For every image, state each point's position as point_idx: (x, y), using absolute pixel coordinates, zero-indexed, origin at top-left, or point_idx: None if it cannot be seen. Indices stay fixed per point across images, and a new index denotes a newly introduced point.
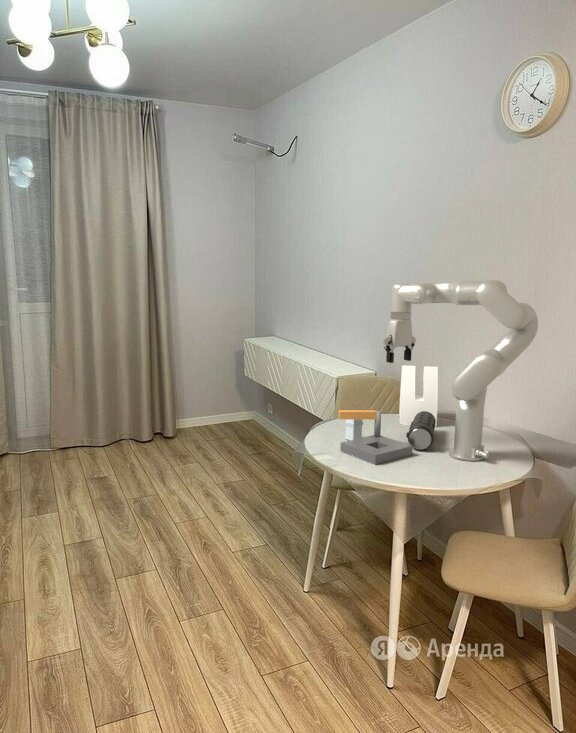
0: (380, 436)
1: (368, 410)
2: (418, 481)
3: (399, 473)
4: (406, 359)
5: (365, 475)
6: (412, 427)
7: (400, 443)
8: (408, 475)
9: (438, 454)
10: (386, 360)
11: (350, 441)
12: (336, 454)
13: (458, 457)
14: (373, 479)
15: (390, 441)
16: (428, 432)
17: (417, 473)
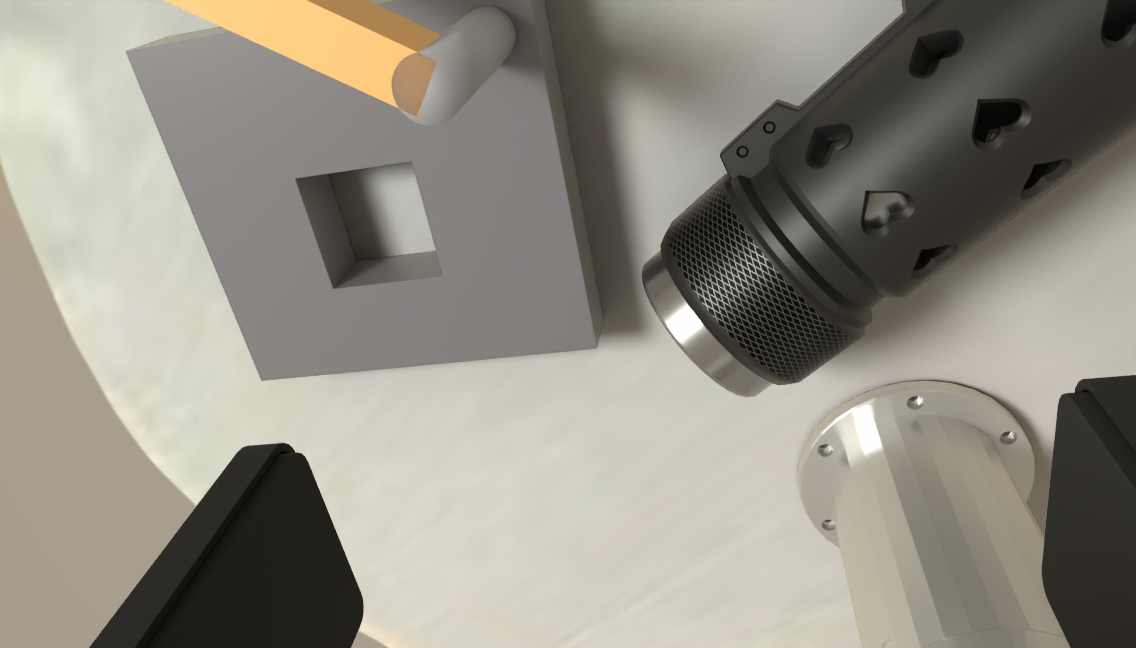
0: (515, 49)
1: (333, 14)
2: (382, 584)
3: (352, 487)
4: (1057, 500)
5: (175, 436)
6: (696, 286)
7: (551, 272)
8: (380, 522)
9: None
10: (231, 471)
11: (210, 63)
12: (121, 81)
13: (801, 498)
14: (194, 487)
15: (512, 200)
16: (748, 396)
17: (437, 524)
